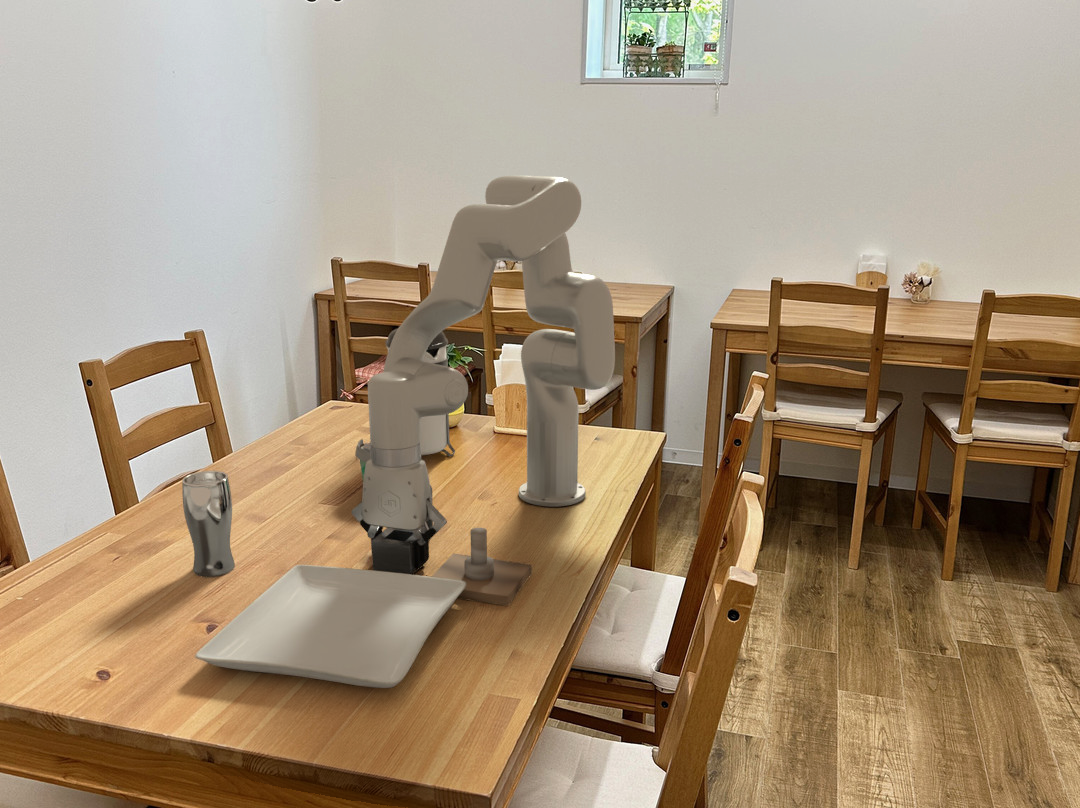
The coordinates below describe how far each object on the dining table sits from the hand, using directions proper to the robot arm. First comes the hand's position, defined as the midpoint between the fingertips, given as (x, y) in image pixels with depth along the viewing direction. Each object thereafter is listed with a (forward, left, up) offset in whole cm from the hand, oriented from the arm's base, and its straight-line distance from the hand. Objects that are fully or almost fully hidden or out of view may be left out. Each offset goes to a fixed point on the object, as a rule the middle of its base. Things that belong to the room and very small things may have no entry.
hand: (400, 561), depth 143 cm
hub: (0, 0, -1) cm, 1 cm away
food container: (-25, -16, -1) cm, 30 cm away
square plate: (+22, +2, -1) cm, 22 cm away
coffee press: (-51, -21, -1) cm, 55 cm away
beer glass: (+10, -27, -1) cm, 29 cm away
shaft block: (+2, +14, -1) cm, 14 cm away
